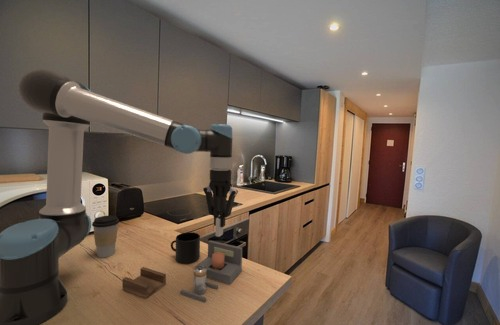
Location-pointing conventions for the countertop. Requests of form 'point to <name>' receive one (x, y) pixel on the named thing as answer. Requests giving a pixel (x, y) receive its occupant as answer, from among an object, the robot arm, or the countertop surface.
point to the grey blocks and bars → (227, 272)
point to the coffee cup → (105, 235)
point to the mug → (187, 247)
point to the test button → (218, 260)
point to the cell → (199, 280)
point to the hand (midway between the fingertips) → (219, 235)
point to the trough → (144, 282)
